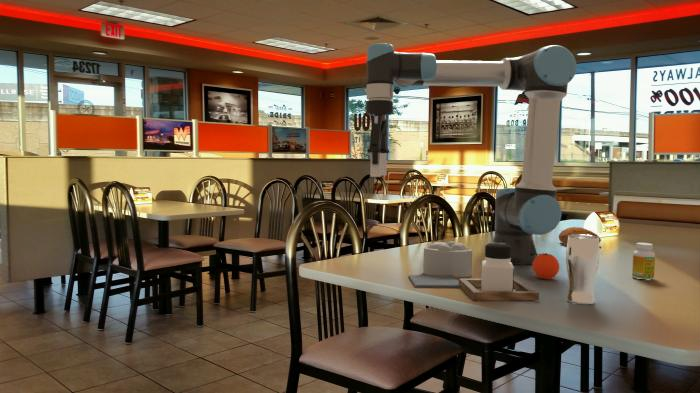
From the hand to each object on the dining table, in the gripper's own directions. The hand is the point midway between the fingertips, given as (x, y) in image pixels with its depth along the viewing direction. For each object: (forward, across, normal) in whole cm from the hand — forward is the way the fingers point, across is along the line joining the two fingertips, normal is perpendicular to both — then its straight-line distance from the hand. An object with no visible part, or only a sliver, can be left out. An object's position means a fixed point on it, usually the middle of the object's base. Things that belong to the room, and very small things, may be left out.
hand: (378, 176), depth 162 cm
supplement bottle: (+28, -7, +73) cm, 78 cm away
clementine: (+27, 0, +46) cm, 53 cm away
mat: (+27, +12, +17) cm, 34 cm away
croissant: (+28, -69, +69) cm, 101 cm away
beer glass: (+27, +24, +50) cm, 62 cm away
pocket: (+27, +20, +32) cm, 46 cm away
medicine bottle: (+27, +20, +32) cm, 47 cm away
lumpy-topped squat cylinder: (+27, -1, +20) cm, 34 cm away
